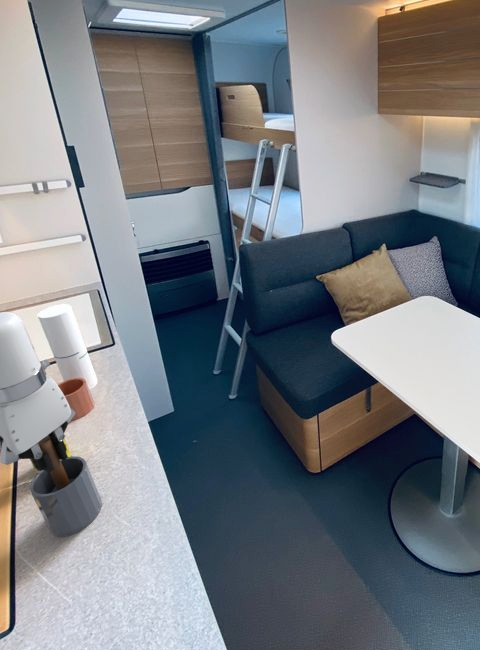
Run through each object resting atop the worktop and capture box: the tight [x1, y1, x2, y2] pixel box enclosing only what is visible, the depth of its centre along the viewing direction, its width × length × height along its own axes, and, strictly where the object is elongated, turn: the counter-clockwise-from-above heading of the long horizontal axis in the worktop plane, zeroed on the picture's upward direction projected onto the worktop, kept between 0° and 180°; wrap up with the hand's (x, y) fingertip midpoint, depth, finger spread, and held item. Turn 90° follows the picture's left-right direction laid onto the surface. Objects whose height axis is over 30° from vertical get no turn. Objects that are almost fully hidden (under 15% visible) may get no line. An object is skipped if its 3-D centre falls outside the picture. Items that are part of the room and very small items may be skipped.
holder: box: [57, 378, 95, 422], centre depth 106 cm, size 8×8×8 cm
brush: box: [38, 436, 75, 493], centre depth 77 cm, size 4×4×18 cm
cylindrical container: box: [37, 303, 98, 390], centre depth 112 cm, size 7×7×25 cm
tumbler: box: [29, 455, 103, 538], centre depth 79 cm, size 9×9×11 cm
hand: (53, 462), depth 76 cm, fingers closed on brush, 2 cm apart
